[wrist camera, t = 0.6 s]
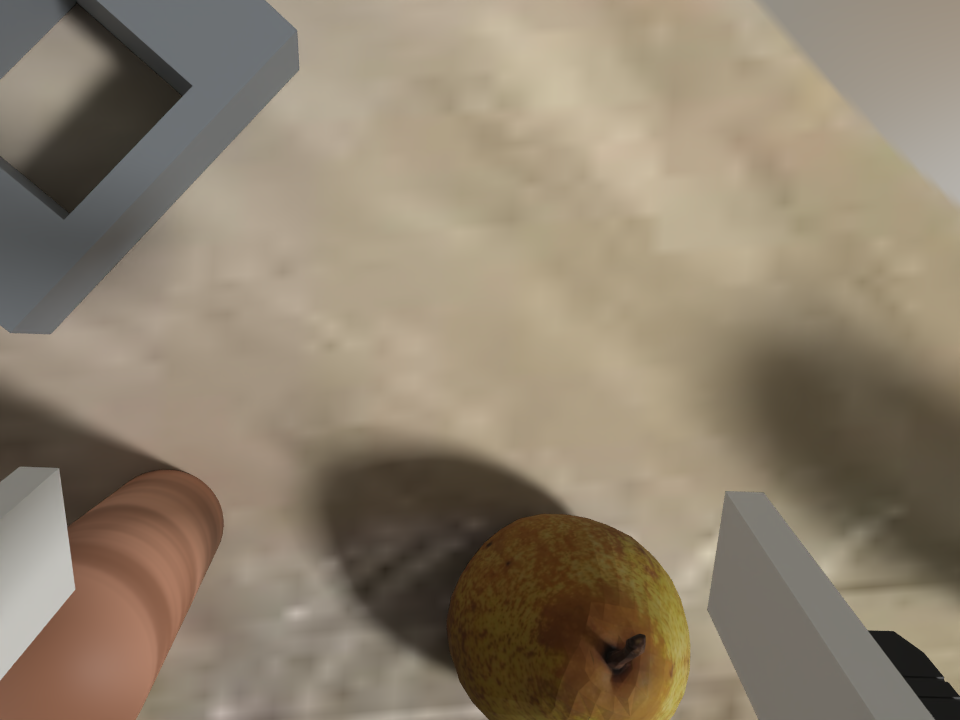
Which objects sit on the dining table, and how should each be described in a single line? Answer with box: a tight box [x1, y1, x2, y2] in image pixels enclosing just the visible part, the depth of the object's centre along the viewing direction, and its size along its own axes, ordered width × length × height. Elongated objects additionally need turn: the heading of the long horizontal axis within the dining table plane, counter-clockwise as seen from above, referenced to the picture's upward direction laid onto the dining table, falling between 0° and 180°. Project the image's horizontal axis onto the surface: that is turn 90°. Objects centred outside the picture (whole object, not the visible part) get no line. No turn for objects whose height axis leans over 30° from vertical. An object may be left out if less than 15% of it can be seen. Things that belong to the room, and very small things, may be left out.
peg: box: [0, 470, 224, 720], centre depth 24 cm, size 4×4×14 cm
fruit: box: [447, 514, 690, 720], centre depth 28 cm, size 9×9×12 cm
